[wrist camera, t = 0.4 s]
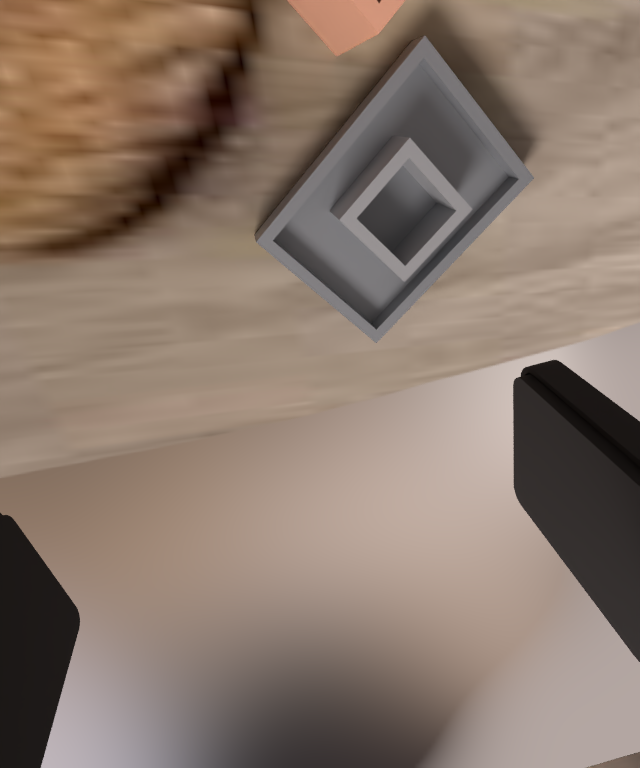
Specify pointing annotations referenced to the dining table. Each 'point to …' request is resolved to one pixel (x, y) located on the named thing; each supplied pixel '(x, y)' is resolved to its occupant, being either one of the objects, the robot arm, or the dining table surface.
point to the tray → (395, 194)
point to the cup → (346, 20)
